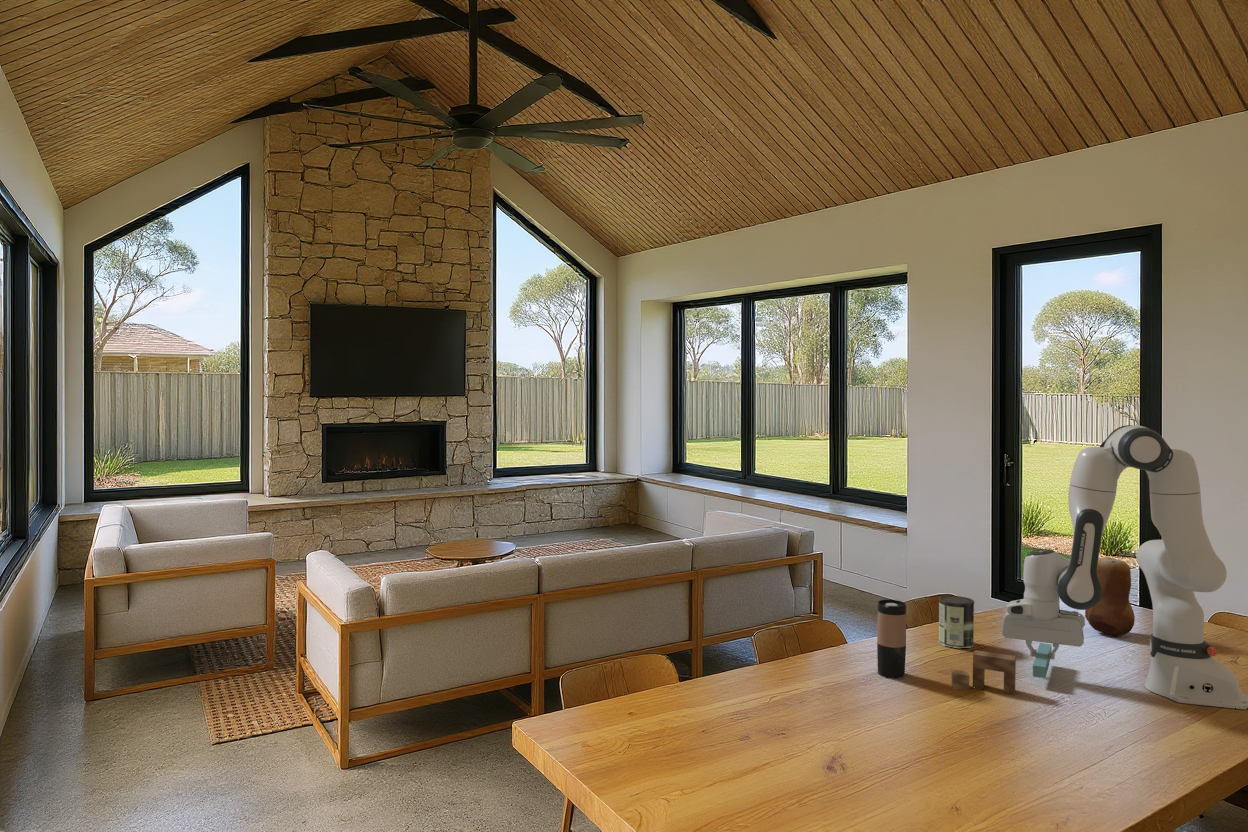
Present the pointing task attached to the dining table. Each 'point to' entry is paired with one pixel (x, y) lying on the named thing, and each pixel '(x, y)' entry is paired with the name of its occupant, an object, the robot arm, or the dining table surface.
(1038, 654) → the teal square bar
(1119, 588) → the butternut squash
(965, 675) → the bead cube
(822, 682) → the dining table surface
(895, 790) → the dining table surface
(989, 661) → the wooden u-shaped block
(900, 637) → the travel mug
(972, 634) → the coffee can
